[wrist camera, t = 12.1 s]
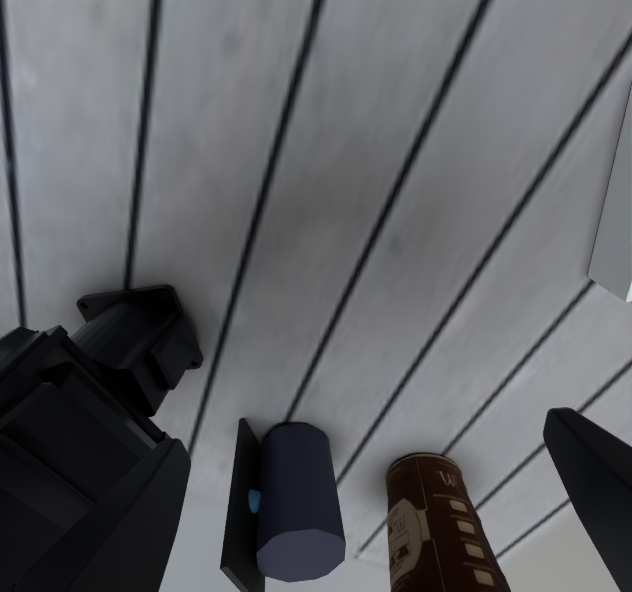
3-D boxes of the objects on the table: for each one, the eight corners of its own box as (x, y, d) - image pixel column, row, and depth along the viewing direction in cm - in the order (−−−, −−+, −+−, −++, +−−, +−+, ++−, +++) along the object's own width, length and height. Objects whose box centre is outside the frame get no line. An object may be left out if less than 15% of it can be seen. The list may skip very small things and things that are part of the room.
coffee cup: (372, 504, 32) (393, 722, 21) (367, 446, 28) (391, 676, 17) (467, 501, 31) (545, 727, 20) (476, 441, 27) (580, 680, 16)
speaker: (243, 465, 30) (220, 619, 20) (239, 417, 27) (211, 567, 18) (329, 464, 30) (345, 613, 21) (334, 416, 28) (354, 561, 18)
